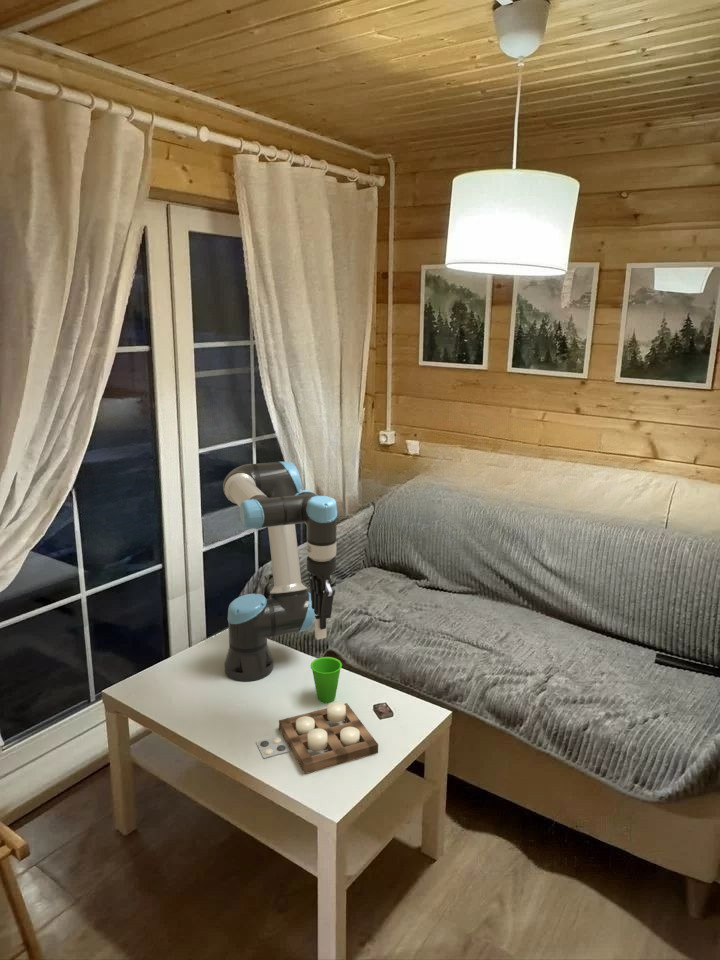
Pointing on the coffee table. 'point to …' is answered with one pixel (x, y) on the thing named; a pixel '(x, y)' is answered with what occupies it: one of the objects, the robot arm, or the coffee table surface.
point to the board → (334, 746)
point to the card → (272, 747)
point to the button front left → (349, 736)
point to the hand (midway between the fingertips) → (320, 637)
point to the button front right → (317, 739)
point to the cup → (326, 677)
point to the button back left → (336, 712)
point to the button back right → (304, 725)
